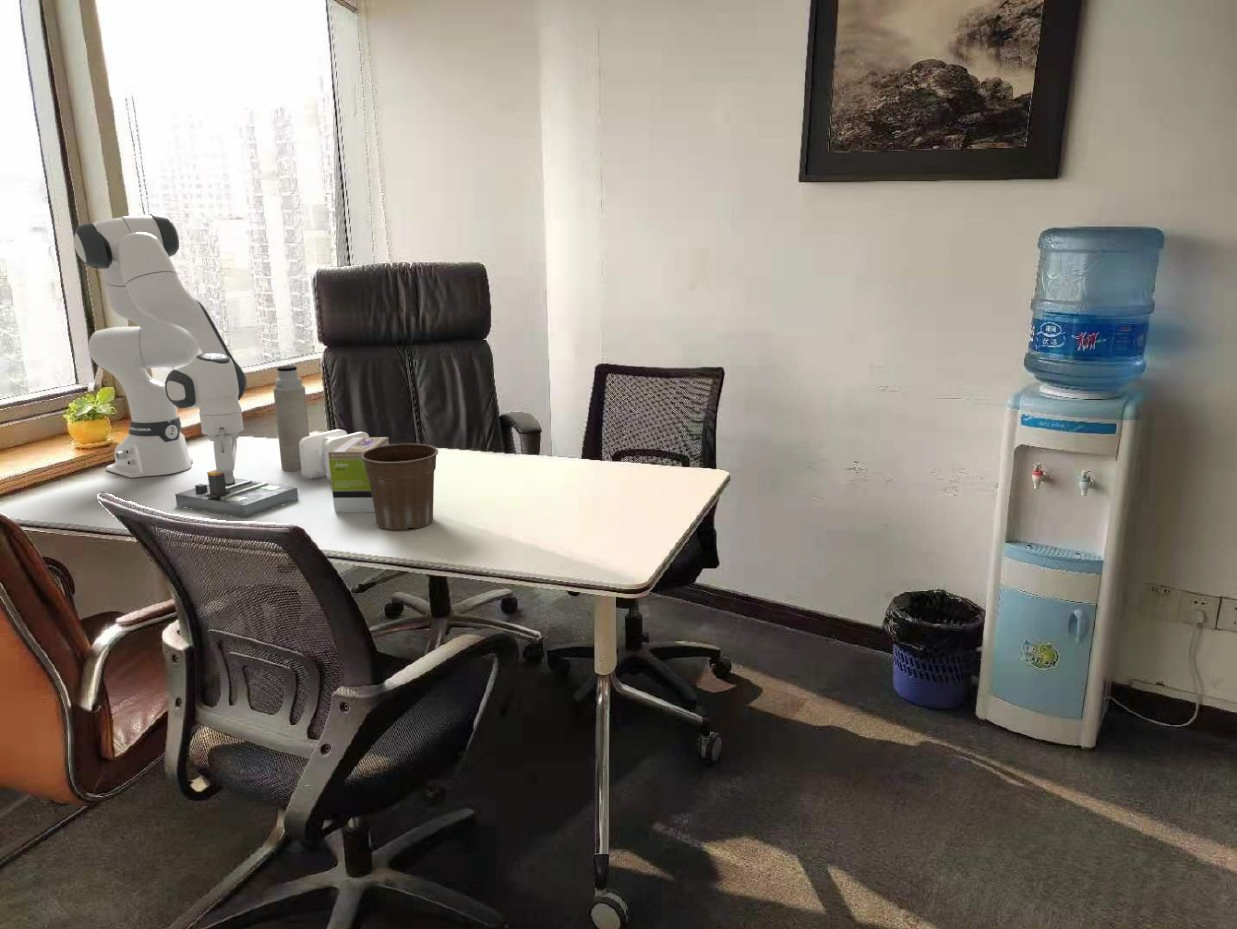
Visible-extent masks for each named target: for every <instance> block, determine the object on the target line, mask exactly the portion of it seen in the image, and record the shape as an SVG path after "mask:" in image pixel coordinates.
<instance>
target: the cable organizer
mask: <svg viewBox="0 0 1237 929" xmlns="http://www.w3.org/2000/svg"><path fill="white" fill-rule="evenodd" d="M350 437H351V438H362V437H370V436H369V434H368V433H367V432H364V431H357V432H353V433H349V434H348V432H347V431H346V430H344V429H333V430H328V431H324V432H321V433H316V434H312V435H309V436H307V437H304V438H302V439H301V440H300V442H299V450H300V460H301V470H300V471H301V475H302V476H303V477H305V478H308V479H313V480H317V479H319V478H323V477H324V476H325V475H326V478H327V480H329V481H331V475H330V465H329V454H328V452H330V451H331V450H333V449H334V448H335V447H337V446H338V445H340V444H341V443H343V442H344V441H345V440H347V439H348V438H350Z"/></svg>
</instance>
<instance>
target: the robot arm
mask: <svg viewBox="0 0 1237 929" xmlns="http://www.w3.org/2000/svg"><path fill="white" fill-rule="evenodd" d="M73 234H74V239H73V244H74V249H75V251H76V253H77V255H78V257H79V258H80V259H81V260H82V261H83V263H84V264H85V265H86V266H88V267H90V268H93V269H98V270H101V273H102V278H103V283H104V287H105V291H106V294H107V298H108V302H109V306H110V308H111V309H112V311H113V312H114V313H115V314H117V315H118V316H120V317H121V318H124V319H126V320H128V321H131V322H133V323H134V324H136V325H135V326H114V327H107V328H103V329H99V330H98V329H97V330H96V331H93V333H92V335H91V336H90V338H89V341H88V346H87V347H88V353H89V356H90V358H91V359H92V361H93V362H94V363H95V364H96V365H97V366H99V367H100V368H102V369H104V370H106V371H107V372H108V373H110V374H111V375H112V376H113V377H115V379H116V380H117V381H118V382H119V383H120V385H121V386H122V388H123V390H124V392H125V394H126V398H127V401H128V407H129V412H130V417H131V420H130V421H129V422H125V424H128V425H126V426H125V427H126V428H128V427H129V428H128V435H127V436H126V437H125V438H124V439H123V440H122V441H121V442H120V443H119V444H118V445H117V446H116V447H115V449H114V461H115V462H114V463H112V464H109V465H107V466H106V469H105V471H107V472H111V473H115V474H118V475H121V476H124V477H127V478H133V479H134V478H142V477H153V476H164V475H172V474H176V473H180V472H184V471H186V470H189V469H191V467H192V464H193V463H194V460H193V458H191V457H190V455H189V450H188V446H187V442H186V439H185V438H186V437H185V435H184V434H183V433H182V432H181V431H182V422H181V419H180V416H178V409H186V410H187V409H188V410H190V409H195V408H196V409H197V408H198V409H199V420H200V427H201V434H203V435H205V436H208V440H209V441H210V442H213V452H214V453H213V454H214V461H215V462H214V463H215V470H217V472H218V473H224V477H225V483H227V484H228V483H233V481H234V478H235V475H234V472H235V464H236V457H237V449H238V447H237V446H238V445H237V444H238V442H237V441H238V439H239V436H240V435H239V433H241V432H243V431H244V429H245V428H244V420H243V415H242V414H243V412H242V411H243V410H242V407H241V404H240V402H239V401H240V400H241V398H243V396H244V394H245V392H246V389H247V385H248V381H247V376H246V374H245V372H244V371H243V368H241V366H240V365H239V364H238V362H237V361H236V360H235V359H234V357H233V355H232V354H231V353H230V350H229V349H228V347H227V345H226V343H225V342H224V339H223V338H222V336H221V334H220V332H219V331H218V328H217V327H216V325H215V323H214V321H213V320H212V318H211V316H210V315H209V313H208V311H207V310H206V308H205V307H204V305H203V304H202V303H201V302H200V301H199V300H197V298H196V299H195V298H194V297H193V296H192V295H191V294H190V293H189V292H188V291H187V290H186V288H185V287H184V285H183V284H182V282H181V281H180V279H179V276H178V274H177V270H176V269H175V268H176V267H175V266H174V264H173V262H172V259H171V258H170V257H172V256H175V255H176V254H177V252H178V251H179V249H180V236H179V233H178V230H177V227H176V225H174V223H173V221H172V220H171V219H170V217H168V216H166V215H165V214H160V213H159V214H158V213H149V214H148V215H146V214H145V215H144V214H143V215H140V214H139V215H137V214H136V215H123V216H120V217H115V218H109V219H105V220H104V219H103V220H99V221H96V222H92V221H91V222H90V221H89V222H87V223H83V224H81V225H79V226H77V227H76V228H75V230H74V233H73ZM199 350H200V351H201V353H200V354H199ZM175 367H179V368H176V369H173V370H171V371H170V372H169V373H168V374H167V375H166V378H165V381H161V380H158V379H156V378H153V377H152V376H151V375H150V374H149V373H148V371H147V369H152V368H153V369H155V368H156V369H157V368H175Z"/></svg>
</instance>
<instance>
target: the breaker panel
mask: <svg viewBox="0 0 1237 929" xmlns="http://www.w3.org/2000/svg"><path fill="white" fill-rule="evenodd" d="M224 478H225V477H224ZM225 486H226V490H227V491H230V493H229V494H226V495H223V496H220V497H217V498H213V497H207V494H208V493H210V488H209V483H208V484H203V483H198V484H196V485H194V488H191V489H188V490H184V491H182V492H178V493H175V494H174V495H175V502H176V507H179V508H183V507H187V508H186V509H189V508H192V509H191V510H195V511H201V510H202V511H203V512H208V513H211V514H212V513H214V514H218V515H224V514H227V515H226V516H230V515H232V516H231V517H236V518H243V519H247V518H250V517H252V516H256V515H259V514H261V513H263V512H266V511H269V510H272V508H273V509H275V508H278V507H280V506H283V504H284V505H287V504H289V503H292V502H295V501H298V500H299V492H298V487H297V486H290V485H283V484H278V483H277V484H276V483H271V482H262V481H257V480H251V479H250V480H249V479H243V478H236V477H234V481H233V483H228V484H227V483H225ZM291 501H292V502H291ZM288 502H289V503H288ZM286 503H287V504H286ZM274 507H275V508H274Z"/></svg>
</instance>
